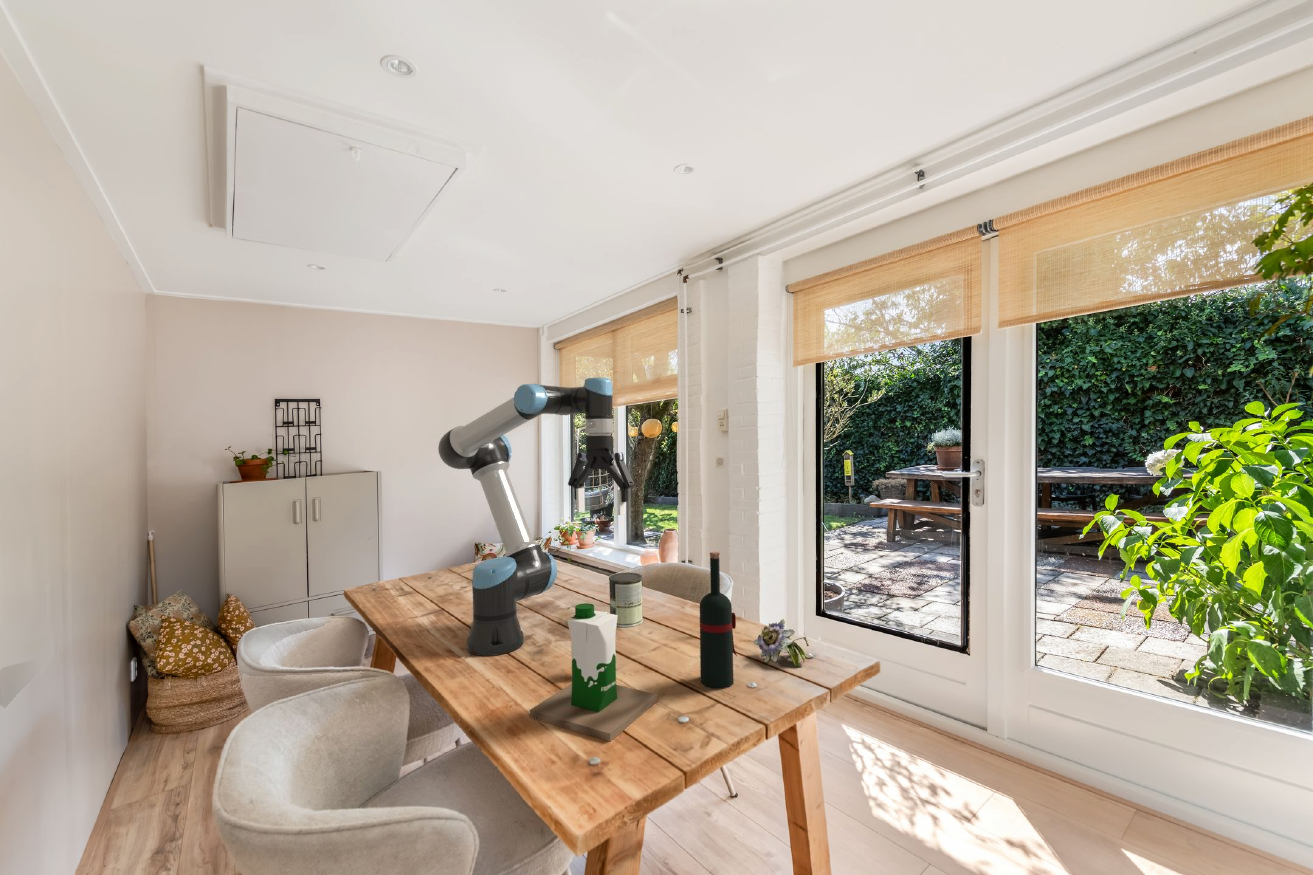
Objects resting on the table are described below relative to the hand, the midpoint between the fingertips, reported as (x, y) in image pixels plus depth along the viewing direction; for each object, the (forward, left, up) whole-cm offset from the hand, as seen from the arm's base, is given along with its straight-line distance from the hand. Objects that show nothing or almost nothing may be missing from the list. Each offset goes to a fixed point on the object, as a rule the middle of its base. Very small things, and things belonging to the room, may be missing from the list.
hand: (600, 513), depth 153 cm
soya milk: (+18, -29, -35) cm, 49 cm away
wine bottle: (+36, -4, -37) cm, 52 cm away
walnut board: (+18, -29, -37) cm, 50 cm away
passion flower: (+45, +14, -37) cm, 60 cm away
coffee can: (-6, +21, -37) cm, 43 cm away
